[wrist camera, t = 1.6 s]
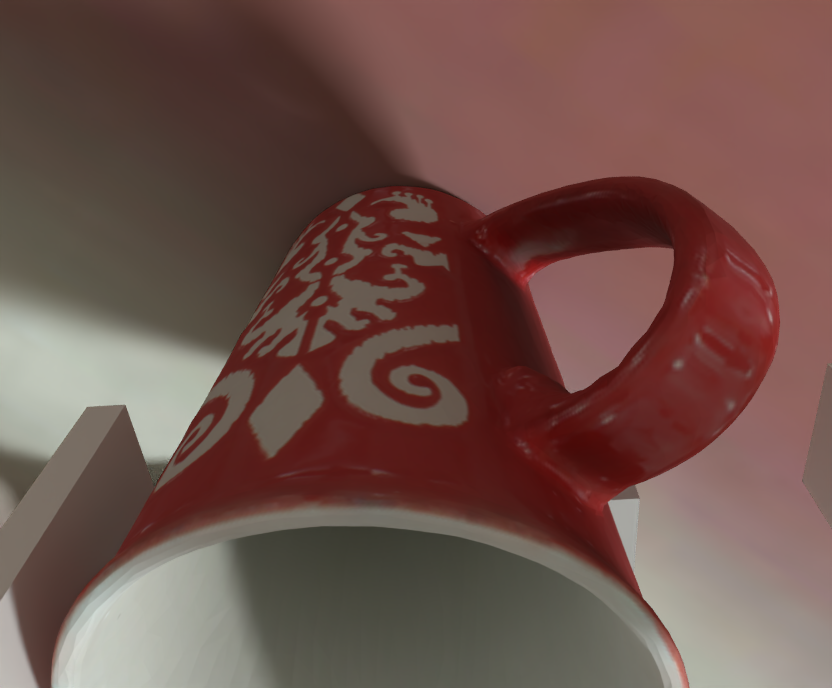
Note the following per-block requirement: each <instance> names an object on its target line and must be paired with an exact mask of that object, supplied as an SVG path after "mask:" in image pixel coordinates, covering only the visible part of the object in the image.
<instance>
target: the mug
mask: <svg viewBox="0 0 832 688" xmlns="http://www.w3.org/2000/svg"><path fill="white" fill-rule="evenodd" d="M644 247H661V248H672V249H674V267H673V271H672V276H671V280H670V284H669V288H668V291H667V295H666V299H665V302H664V304H663V307H662V308H661V310H660V311H659V313H658V314H657V316H656V317H655V319H654V321H653V322H652V324H651V326H650V327H649V329H648V331H647V332H646V333H645V334H644V335H643V336H642V337H641V338H640V339H639V340H638V341H637V343H636V344H635V345H634V346H633V347H632V348H631V350H630V351H629V352H628V353H627V355H626V356H625V358H624V359H623V360H622V362H621V363H620V365H619V366H618V367H616V368H615V369H613V370H612V371H610V372H608V373H607V374H605V375H603V376H602V377H600V378H599V379H598V380H596V381H595V382H594V383H593V384H592V385H591V386H589V387H587V388H586V389H584V390H580V391H577V392H575V393H572V394H570V393H569V392H568V391H567V390H566V389H565V386H564V382H563V379H562V377H561V374H560V371H559V369H558V366H557V364H556V361H555V359H554V356H553V353H552V350H551V347H550V344H549V342H548V339H547V336H546V333H545V331H544V328H543V325H542V322H541V319H540V317H539V314H538V312H537V309H536V307H535V304H534V301H533V298H532V295H531V292H530V288H529V285H528V282H529V280H530V279H531V278H532V277H533V275H534V274H535V273H537V272H538V271H540V270H541V269H543V268H544V267H546V266H548V265H549V264H551V263H554V262H557V261H559V260H563V259H568V258H571V257H575V256H579V255H585V254H589V253H597V252H603V251H612V250H621V249H633V248H644ZM779 327H780V316H779V304H778V297H777V293H776V289H775V286H774V283H773V280H772V278H771V276H770V274H769V272H768V270H767V268H766V266H765V265H764V263H763V262H762V260H761V259H760V257H759V256H758V254H757V253H756V252H755V250H754V249H753V248H752V247H751V246H750V245H749V244H748V243H747V242H746V240H745V239H744V238H743V237H742V236H741V235H740V234H739V233H738V232H737V231H736V230H735V229H734V228H733V227H732V226H731V225H730V224H728V223H727V222H726V221H725V220H723V219H722V218H721V217H720V216H718V215H717V214H716V213H714V212H713V211H712V210H711V209H709V208H708V207H707V206H705V205H704V204H703V203H701V202H700V201H699V200H697V199H696V198H694V197H693V196H692V195H690V194H689V193H687V192H686V191H684V190H682V189H680V188H678V187H676V186H674V185H671V184H668V183H665V182H662V181H659V180H657V179H651V178H645V177H609V178H602V179H596V180H591V181H586V182H582V183H577V184H572V185H568V186H565V187H561V188H558V189H554V190H551V191H547V192H544V193H541V194H538V195H535V196H532V197H530V198H527V199H524V200H522V201H519V202H516V203H514V204H511V205H509V206H507V207H504V208H502V209H500V210H497V211H495V212H493V213H491V214H490V215H487V216H486V215H485V214H483V213H482V212H481V211H480V210H478V209H476V208H475V207H473V206H471V205H470V204H468V203H466V202H464V201H463V200H460V199H458V198H455V197H453V196H450V195H448V194H445V193H443V192H440V191H436V190H432V189H427V188H420V187H409V186H389V187H382V188H376V189H371V190H367V191H364V192H360V193H357V194H355V195H352V196H350V197H348V198H345V199H343V200H341V201H339V202H337V203H335V204H334V205H332V206H330V207H329V208H327V209H326V210H325V211H323V212H322V213H320V214H319V215H318V216H317V217H316V218H315V219H313V220H312V221H311V223H310V224H309V225H308V226H307V227H306V228H305V229H304V230H303V232H302V233H301V234H300V236H299V237H298V238H297V240H296V241H295V242H294V244H293V245H292V247H291V249H290V250H289V252H288V254H287V255H286V257H285V259H284V261H283V262H282V264H281V266H280V268H279V270H278V272H277V274H276V275H275V277H274V279H273V281H272V283H271V285H270V286H269V288H268V290H267V292H266V293H265V295H264V297H263V298H262V300H261V302H260V304H259V305H258V307H257V309H256V311H255V312H254V314H253V316H252V318H251V320H250V322H249V323H248V325H247V327H246V329H245V330H244V331H243V332H242V334H241V335H240V337H239V339H238V341H237V343H236V345H235V347H234V349H233V351H232V353H231V355H230V357H229V359H228V360H227V362H226V364H225V366H224V368H223V369H222V371H221V373H220V375H219V376H218V378H217V380H216V382H215V383H214V385H213V387H212V389H211V391H210V392H209V394H208V396H207V398H206V400H205V401H204V403H203V405H202V406H201V408H200V410H199V411H198V413H197V415H196V416H195V418H194V419H193V421H192V422H191V424H190V426H189V428H188V430H187V432H186V434H185V435H184V437H183V439H182V441H181V443H180V444H179V446H178V448H177V449H176V451H175V453H174V454H173V456H172V458H171V459H170V461H169V463H168V464H167V466H166V468H165V469H164V471H163V473H162V474H161V476H160V478H159V479H158V481H157V484H156V486H155V488H154V489H153V491H152V493H151V494H150V496H149V498H148V499H147V501H146V503H145V505H144V507H143V508H142V510H141V512H140V514H139V516H138V517H137V519H136V521H135V523H134V525H133V526H132V528H131V530H130V531H129V533H128V535H127V537H126V538H125V540H124V542H123V543H122V545H121V547H120V549H119V550H118V552H117V554H116V555H115V557H114V558H113V559H112V560H110V561H109V562H108V563H107V564H106V565H105V566H104V567H103V568H102V569H101V570H100V571H99V572H98V573H97V574H96V575H95V576H94V577H93V578H92V579H91V580H90V582H89V583H88V584H87V585H86V586H85V587H84V589H83V590H82V591H81V593H80V594H79V595H78V597H77V598H76V600H75V601H74V603H73V605H72V606H71V608H70V610H69V612H68V613H67V615H66V617H65V619H64V621H63V623H62V625H61V627H60V630H59V633H58V636H57V639H56V643H55V647H54V651H53V658H52V671H51V688H689V682H688V678H687V675H686V671H685V667H684V663H683V661H682V658H681V656H680V653H679V651H678V649H677V647H676V645H675V643H674V641H673V639H672V637H671V636H670V634H669V632H668V630H667V629H666V628H665V626H664V625H663V623H662V622H661V620H660V619H659V618H658V616H657V615H656V613H655V612H654V610H653V609H652V608H651V607H650V606H649V604H648V603H647V602H646V601H645V600H644V599H643V597H642V594H641V592H640V589H639V586H638V583H637V581H636V578H635V575H634V573H633V570H632V567H631V565H630V562H629V560H628V557H627V554H626V552H625V549H624V546H623V544H622V541H621V538H620V535H619V532H618V529H617V527H616V524H615V521H614V518H613V515H612V513H611V510H610V507H609V504H608V502H609V501H610V500H611V499H612V498H614V497H615V496H617V495H618V494H619V493H621V492H622V491H624V490H625V489H627V488H628V487H630V486H633V485H635V484H638V483H641V482H644V481H646V480H648V479H651V478H653V477H655V476H658V475H660V474H662V473H664V472H666V471H668V470H670V469H672V468H674V467H676V466H678V465H679V464H681V463H683V462H684V461H686V460H688V459H689V458H691V457H693V456H694V455H696V454H697V453H699V452H700V451H702V450H703V449H704V448H705V447H707V446H708V445H709V444H710V443H712V442H713V441H714V440H715V439H716V438H717V437H718V436H720V435H721V434H722V433H723V432H724V431H725V430H726V429H727V428H728V427H729V426H730V425H731V424H732V423H733V422H734V420H735V419H736V418H737V417H738V416H739V415H740V413H741V412H742V411H743V410H744V409H745V407H746V406H747V405H748V403H749V402H750V400H751V399H752V397H753V396H754V394H755V393H756V391H757V389H758V388H759V386H760V384H761V382H762V381H763V379H764V377H765V375H766V373H767V371H768V369H769V367H770V365H771V363H772V361H773V358H774V355H775V352H776V348H777V345H778V337H779Z"/></svg>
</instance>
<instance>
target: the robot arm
mask: <svg viewBox="0 0 832 688" xmlns="http://www.w3.org/2000/svg"><path fill="white" fill-rule="evenodd" d="M802 481H803V483H804V485H805V486H806V488H807V490H808V491H809V493H810V494H811V496H812V498H813V499H814V501H815V502H816V504H817V506H818V507H819V509H820V511H821V512H822V514H823V515H824V517H825V519H826V520H827V522H828V523H829V525H830V527H831V528H832V363H829V364H827V369H826V373H825V378H824V383H823V387H822V392H821V396H820V401H819V406H818V410H817V415H816V419H815V424H814V429H813V433H812V438H811V442H810V447H809V451H808V456H807V461H806V465H805V470H804V474H803V479H802ZM153 489H154V485H153V482H152V479H151V477H150V474H149V471H148V468H147V465H146V462H145V460H144V457H143V454H142V451H141V448H140V445H139V442H138V440H137V437H136V434H135V431H134V428H133V425H132V423H131V420H130V417H129V414H128V411H127V408H126V405H113V406H96V407H87V408H86V409H85V411H84V412H83V414H82V415H81V417H80V418H79V419H78V421H77V422H76V424H75V425H74V426H73V428H72V429H71V431H70V432H69V433H68V435H67V436H66V438H65V439H64V441H63V442H62V443H61V445H60V446H59V448H58V449H57V450H56V452H55V453H54V455H53V456H52V457H51V459H50V460H49V462H48V463H47V465H46V466H45V467H44V469H43V470H42V472H41V473H40V474H39V476H38V477H37V479H36V480H35V481H34V483H33V484H32V486H31V487H30V489H29V490H28V491H27V493H26V494H25V496H24V497H23V498H22V500H21V501H20V503H19V504H18V505H17V507H16V508H15V510H14V511H13V513H12V514H11V515H10V517H9V518H8V520H7V521H6V522H5V524H4V525H3V527H2V528H1V529H0V688H51V671H52V658H53V651H54V647H55V643H56V639H57V636H58V633H59V630H60V627H61V625H62V623H63V621H64V619H65V617H66V615H67V613H68V612H69V610H70V608H71V606H72V605H73V603H74V601H75V600H76V598H77V597H78V595H79V594H80V593H81V591H82V590H83V589H84V587H85V586H86V585H87V584H88V583H89V582H90V580H91V579H92V578H93V577H94V576H95V575H96V574H97V573H98V572H99V571H100V570H101V569H102V568H103V567H104V566H105V565H106V564H107V563H108V562H109V561H110V560H112V559H113V558H114V557H115V555H116V554H117V552H118V550H119V549H120V547H121V545H122V543H123V542H124V540H125V538H126V537H127V535H128V533H129V531H130V530H131V528H132V526H133V525H134V523H135V521H136V519H137V517H138V516H139V514H140V512H141V510H142V508H143V507H144V505H145V503H146V501H147V499H148V498H149V496H150V494H151V493H152V491H153Z"/></svg>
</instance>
